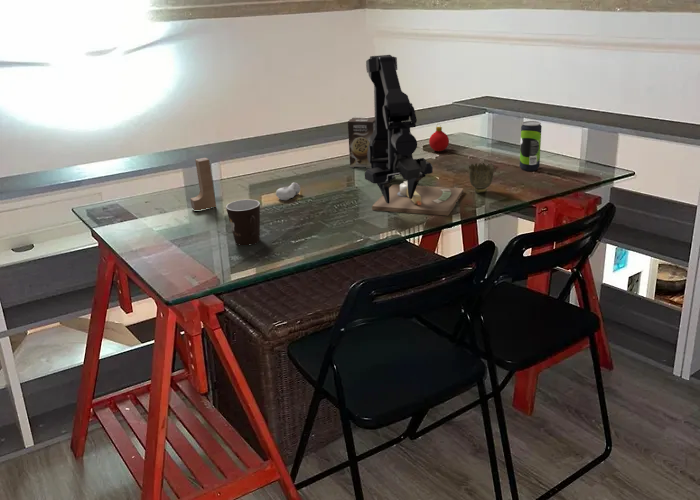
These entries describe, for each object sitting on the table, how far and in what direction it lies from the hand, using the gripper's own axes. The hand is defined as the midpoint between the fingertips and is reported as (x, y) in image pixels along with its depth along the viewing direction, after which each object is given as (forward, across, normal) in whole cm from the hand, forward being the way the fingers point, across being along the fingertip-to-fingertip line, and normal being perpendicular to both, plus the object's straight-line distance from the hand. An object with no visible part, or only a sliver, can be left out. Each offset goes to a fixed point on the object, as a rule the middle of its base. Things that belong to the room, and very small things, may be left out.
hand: (399, 200), depth 189 cm
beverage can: (+2, +54, +9) cm, 55 cm away
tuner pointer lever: (+1, +6, +3) cm, 7 cm away
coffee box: (+3, +12, +46) cm, 47 cm away
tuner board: (+3, +8, +3) cm, 9 cm away
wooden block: (+4, -47, +34) cm, 59 cm away
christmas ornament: (+2, +43, +46) cm, 63 cm away
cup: (+2, +27, -1) cm, 28 cm away
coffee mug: (+4, -45, +1) cm, 45 cm away
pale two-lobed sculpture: (+4, -22, +29) cm, 37 cm away
